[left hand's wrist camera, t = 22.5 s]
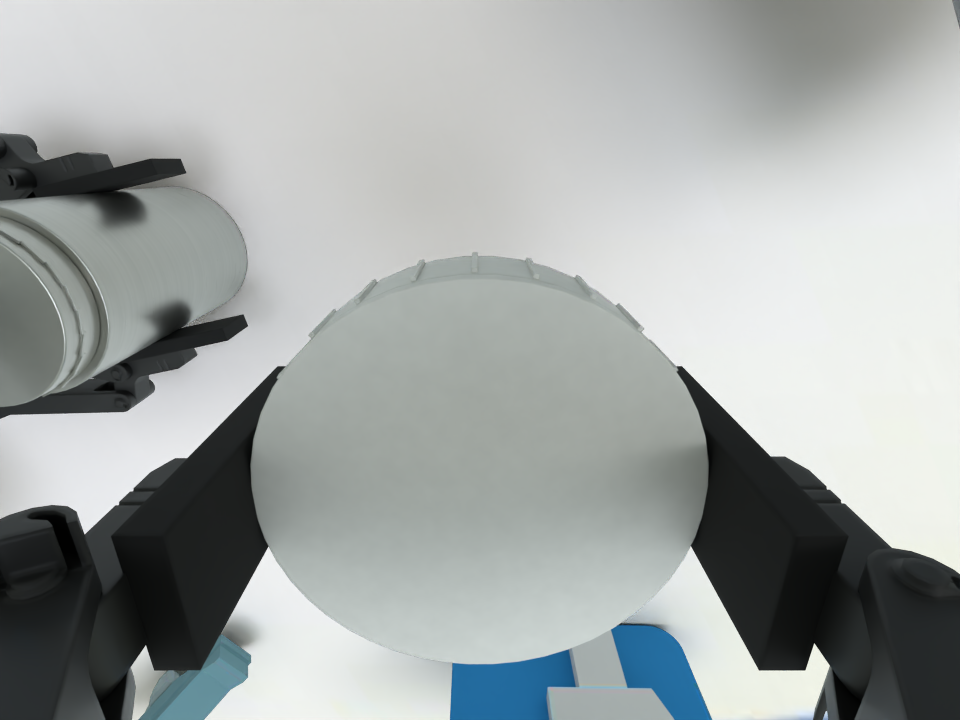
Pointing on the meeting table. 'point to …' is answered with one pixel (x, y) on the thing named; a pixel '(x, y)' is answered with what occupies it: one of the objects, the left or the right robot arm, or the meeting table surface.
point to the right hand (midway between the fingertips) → (204, 251)
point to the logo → (585, 682)
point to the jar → (105, 280)
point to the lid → (479, 463)
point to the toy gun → (199, 685)
